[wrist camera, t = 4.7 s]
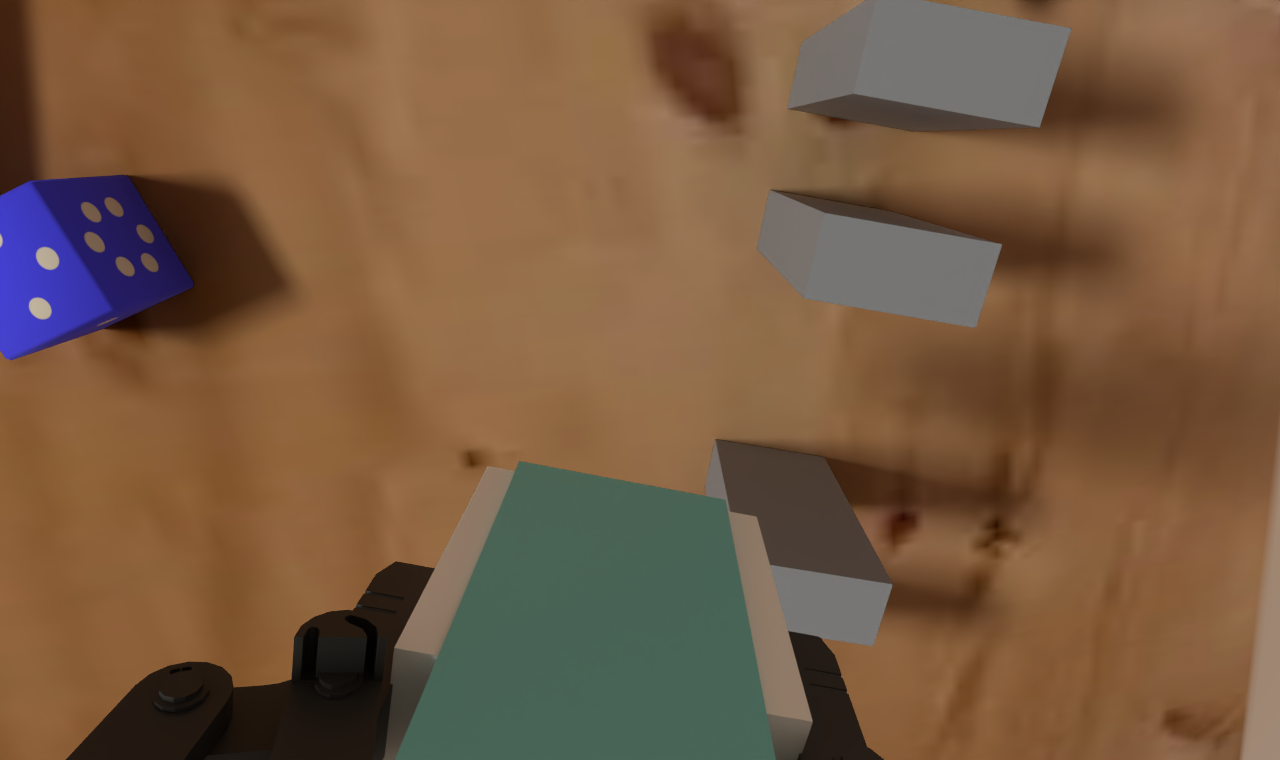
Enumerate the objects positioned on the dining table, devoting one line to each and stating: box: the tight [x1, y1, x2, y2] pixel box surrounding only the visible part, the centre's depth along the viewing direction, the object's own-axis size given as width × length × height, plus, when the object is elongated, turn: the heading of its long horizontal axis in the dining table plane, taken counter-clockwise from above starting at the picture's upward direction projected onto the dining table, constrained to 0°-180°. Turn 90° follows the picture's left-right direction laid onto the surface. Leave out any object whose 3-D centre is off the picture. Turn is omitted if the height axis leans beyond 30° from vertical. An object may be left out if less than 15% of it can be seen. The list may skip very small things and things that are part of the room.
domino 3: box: [757, 190, 1002, 328], centre depth 25 cm, size 2×5×10 cm, turn 81°
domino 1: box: [395, 461, 776, 760], centre depth 13 cm, size 2×5×10 cm, turn 79°
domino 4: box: [705, 439, 893, 646], centre depth 29 cm, size 2×5×10 cm, turn 80°
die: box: [0, 175, 194, 360], centre depth 29 cm, size 5×5×5 cm
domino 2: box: [787, 0, 1071, 131], centre depth 24 cm, size 2×5×10 cm, turn 81°
